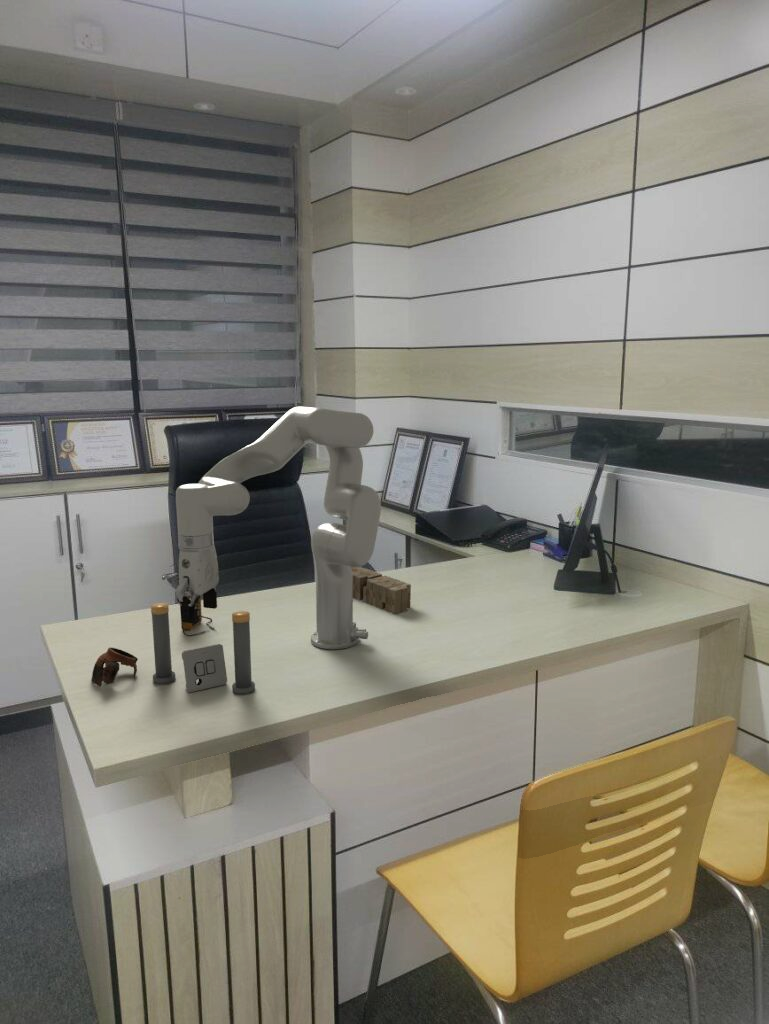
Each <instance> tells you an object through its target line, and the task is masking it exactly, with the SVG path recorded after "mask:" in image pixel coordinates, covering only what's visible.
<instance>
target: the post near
mask: <svg viewBox="0 0 769 1024" xmlns="http://www.w3.org/2000/svg"><path fill="white" fill-rule="evenodd" d="M250 614H251V613H250V612H249V611H246V610H239V611H238V610H237V611H235V612H232V613H231V620H232V621H231V622H232V631H233V632H232V633H233V634H232V635H233V636H232V637H233V658H234V659H233V660H234V682H233V684H232V686H231V688H232V690H231V691H232V693H233V694H234V695H238V696H245V695H246V694H247V695H250V694H253V693H254V692H255V691H256V683H255V682H254V681H253V680H252V659H251V656H252V655H251V654H252V653H251V631H250V630H251V629H250V628H251V625H250V620H251V617H250V616H251V615H250ZM254 690H255V691H254Z"/></svg>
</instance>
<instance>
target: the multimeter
mask: <svg viewBox="0 0 769 1024" xmlns="http://www.w3.org/2000/svg"><path fill="white" fill-rule="evenodd" d="M178 586H179V564H178V567H177V587H178ZM191 591H192V590H191ZM186 597H187V598H188V599H189V600H190V596H189V595H186ZM193 605H195V612H196V622H195V623H185V622H182V620H181V619H180V623H181V625H180V627H181V630H182V633H183V634H184V635H185V636H187V637H193V636H198V635H201V634H205V633H206V632H209V631H211V629H212V630H214V631H218V630H217V629H216V628H215V627H213V626H212V625H210V624H209V623H211V622H212V620H213V619H212V618H211V617H207V616H203V615H202V595H197V594H196V597H195V600H194V603H193ZM179 609H180V613H181V606H180V605H179ZM203 618H205V619H209V620H210V621H208V622H206V625H207V626H208V627H209V628H210V629H208V630H203V631H199V632H196V633H193V634H186V632H185V631H193V629H194V628H195V627H197V625H199V624H201V623H202V619H203Z"/></svg>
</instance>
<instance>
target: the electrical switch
mask: <svg viewBox="0 0 769 1024" xmlns="http://www.w3.org/2000/svg"><path fill="white" fill-rule="evenodd" d="M181 659H182V661H183V662H182V663H183V669H184V670H183V671H184V678H185V690H186V691H187V692H188V693H193V692H197V691H201V690H206V689H210V688H214V687H219V686H223V685H226V684H227V683H228V676H227V675H228V674H227V667H226V661H225V652H224V646H223V645H222V644H221V643H216V644H210V645H206V646H201V647H196V648H191V649H186V650H183V651H182V652H181ZM197 680H198V681H197Z"/></svg>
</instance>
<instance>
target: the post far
mask: <svg viewBox="0 0 769 1024" xmlns="http://www.w3.org/2000/svg"><path fill="white" fill-rule="evenodd" d="M169 611H170V609H169V604H168V603H166V602H160V603H159V602H158V603H154V604H152V605H151V606H150V613H151V621H152V622H151V623H152V624H151V625H152V636H153V653H154V667H155V673H153V675H152V682H153V684H156V685H160V686H161V685H169V684H171V683H174V682H175V681H176V672H175V671H173V669H172V666H173V665H172V653H171V652H172V651H171V649H172V648H171V635H170V633H171V631H170V617H169Z"/></svg>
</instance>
